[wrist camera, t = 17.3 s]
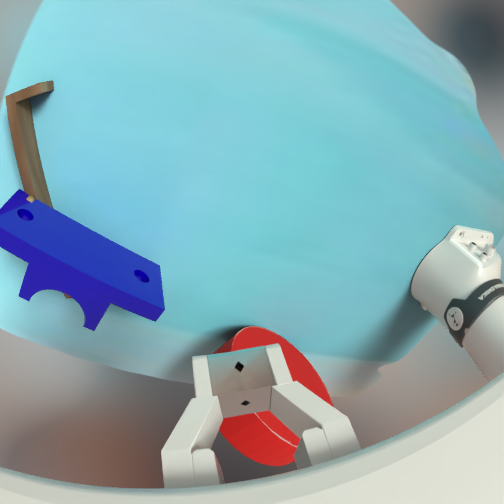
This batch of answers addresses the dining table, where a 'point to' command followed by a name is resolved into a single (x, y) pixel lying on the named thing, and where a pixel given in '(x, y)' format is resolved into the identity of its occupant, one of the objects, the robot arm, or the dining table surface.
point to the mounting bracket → (78, 262)
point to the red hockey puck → (265, 423)
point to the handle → (28, 142)
